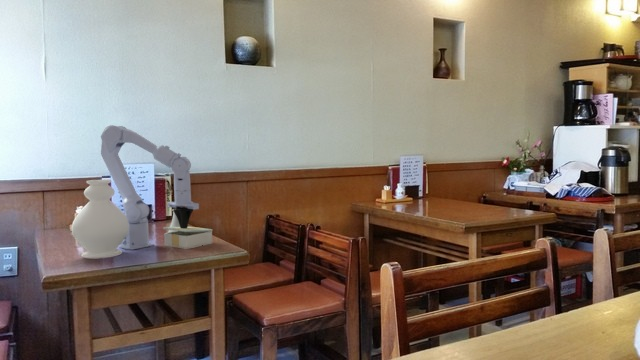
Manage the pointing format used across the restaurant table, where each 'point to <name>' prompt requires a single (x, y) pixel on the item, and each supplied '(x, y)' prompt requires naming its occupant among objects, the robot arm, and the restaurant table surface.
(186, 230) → the box lid
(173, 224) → the flask
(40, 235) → the restaurant table surface
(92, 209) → the decorative vase
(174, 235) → the parcel box
